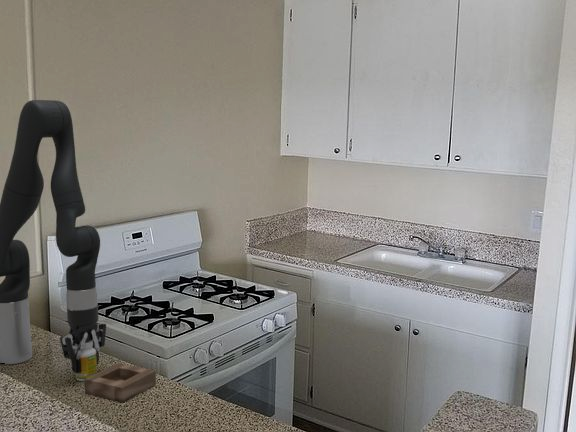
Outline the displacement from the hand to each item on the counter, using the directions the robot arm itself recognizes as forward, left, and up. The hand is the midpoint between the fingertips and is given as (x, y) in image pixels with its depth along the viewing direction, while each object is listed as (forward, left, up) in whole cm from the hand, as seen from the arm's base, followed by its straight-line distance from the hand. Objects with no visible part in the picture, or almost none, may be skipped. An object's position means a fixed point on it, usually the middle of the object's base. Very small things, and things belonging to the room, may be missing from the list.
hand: (85, 368), depth 171 cm
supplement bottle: (0, 0, -3) cm, 3 cm away
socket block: (+13, -1, -2) cm, 13 cm away
